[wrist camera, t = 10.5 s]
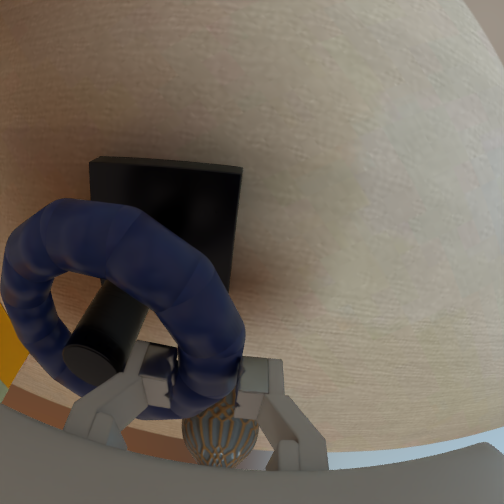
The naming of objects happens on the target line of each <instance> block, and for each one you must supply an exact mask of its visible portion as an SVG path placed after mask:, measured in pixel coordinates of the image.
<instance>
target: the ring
mask: <svg viewBox="0 0 504 504" xmlns="http://www.w3.org/2000/svg"><path fill="white" fill-rule="evenodd" d="M68 271H71V272H75V273H79V274H84V275H88V276H93V277H97V278H102V279H106V280H109V281H110V282H112V283H113V284H114V285H116V286H117V287H119V288H120V289H122V290H123V291H124V292H126V293H127V294H129V295H130V296H132V297H133V298H135V299H136V300H138V301H139V302H141V303H142V304H144V305H145V306H147V307H148V308H150V309H151V310H153V311H154V312H155V313H156V315H157V316H158V318H159V319H160V320H161V322H162V323H163V325H164V326H165V328H166V329H167V330H168V332H169V333H170V335H171V336H172V337H173V339H174V340H175V341H176V343H177V344H178V376H177V381H176V385H175V386H174V387H173V394H174V395H173V399H172V403H171V407H170V408H163V407H157V406H152V405H148V407H147V408H146V409H145V410H143V411H142V412H141V413H140V414H139V415H138V416H137V417H136V418H137V419H141V420H167V419H185V418H191V417H194V416H196V415H198V414H199V413H201V412H202V411H204V410H206V409H207V408H209V407H210V406H212V405H213V404H215V403H216V402H218V401H219V400H221V399H222V398H224V397H225V396H227V395H228V394H229V393H230V392H231V391H232V390H233V389H234V387H235V385H236V380H237V373H238V369H239V361H240V356H242V354H243V349H244V343H245V336H246V332H245V326H244V323H243V320H242V318H241V316H240V314H239V312H238V311H237V309H236V307H235V305H234V303H233V301H232V300H231V298H230V296H229V294H228V292H227V290H226V288H225V287H224V285H223V283H222V281H221V279H220V277H219V275H218V273H217V272H216V270H215V268H214V266H213V264H212V263H211V262H210V260H209V259H208V258H207V257H206V256H205V255H204V254H203V253H201V252H200V251H198V250H197V249H196V248H194V247H193V246H191V245H190V244H188V243H187V242H186V241H184V240H183V239H181V238H180V237H179V236H177V235H176V234H174V233H173V232H171V231H170V230H169V229H167V228H166V227H164V226H163V225H162V224H160V223H159V222H157V221H156V220H155V219H153V218H152V217H150V216H149V215H148V214H146V213H145V212H143V211H142V210H140V209H138V208H136V207H132V206H128V205H121V204H113V203H105V202H97V201H89V200H80V199H72V198H64V199H58V200H56V201H53V202H52V203H50V204H48V205H47V206H45V207H44V208H43V209H41V210H40V211H38V212H37V213H36V214H34V215H33V216H31V217H30V218H29V219H27V220H26V221H25V222H23V223H22V224H21V225H19V226H18V227H17V228H16V229H15V230H14V231H13V232H12V233H11V235H10V236H9V238H8V240H7V243H6V247H5V253H4V259H3V266H2V274H1V283H0V291H1V296H2V299H3V302H4V305H5V307H6V310H7V312H8V315H9V318H10V320H11V323H12V325H13V327H14V330H15V332H16V334H17V337H18V338H19V340H20V342H21V343H22V344H23V345H24V347H25V348H26V349H27V350H28V351H29V353H30V354H31V355H32V356H33V357H34V358H35V360H36V361H37V362H38V363H39V364H40V365H41V366H42V367H43V369H44V370H45V371H46V372H47V373H48V374H49V375H50V376H51V377H52V378H53V379H54V380H56V381H57V382H59V383H60V384H62V385H63V386H65V387H66V388H68V389H69V390H71V391H72V392H74V393H75V394H77V395H78V396H80V397H83V396H85V395H86V394H88V393H89V392H91V391H92V390H94V389H95V388H97V386H94V385H91V384H89V383H87V382H85V381H83V380H81V379H80V378H78V377H77V376H76V375H75V374H73V373H72V372H71V371H70V369H69V368H68V367H67V366H66V364H65V362H64V360H63V356H62V352H63V349H64V347H65V345H66V343H67V342H68V340H69V338H70V336H71V335H72V334H71V332H70V331H69V330H68V328H67V327H66V326H65V325H64V323H63V322H62V321H61V319H60V318H59V317H58V315H57V312H56V309H55V305H54V302H53V298H52V294H51V291H50V290H51V287H52V283H53V280H54V278H55V277H57V276H59V275H61V274H63V273H66V272H68Z"/></svg>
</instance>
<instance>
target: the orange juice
mask: <svg viewBox="0 0 504 504" xmlns="http://www.w3.org/2000/svg"><path fill="white" fill-rule="evenodd" d="M28 355H29V351H28V350H27V349H26V348H25V347H24V345H23V344H22V343H21V342H20V340H19V338H18V337H17V334H16V332H15V330H14V327H13V325H12V323H11V320H10V318H9V316H8V315H7V313H6V312H5V310H4V308H3V307H2V305H1V303H0V403H1V402H2V401H3V398H4V397H5V395H6V393H7V391H8V390H9V389H8V388H9V387H10V385H11V383H12V381H13V380H14V378H15V376H16V375H17V373H18V371H19V369H20V368H21V366H22V364H23V363H24V361H25V360H26V358H27V356H28Z"/></svg>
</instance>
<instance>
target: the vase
mask: <svg viewBox="0 0 504 504" xmlns="http://www.w3.org/2000/svg"><path fill="white" fill-rule="evenodd" d="M235 391H236V386H235V387H234V389H233V390H232V391H231V392H230V393H229V394H228V395H227V396H225V397H224V398H222V399H221V400H219V401H218V402H216V403H215V404H213V405H212V406H210V407H209V408H207V409H206V410H204V411H202V412H201V413H199V414H198V415H196V416H194V417H191V418H185V419H182V434H183V439H184V442H185V445H186V447H187V448H188V450H189V452H190V453H191V454H192V456H193V458H194V459H195V460H196V462H197V463H198V465H205V466H213V467H222V468H232V469H235V468H236V466H237V465H238V464H240V463H241V462H242V461H243V460H244V459H245V458H246V457H247V456H248V455H249V454H250V452H251V451H252V449H253V447H254V445H255V443H256V440H257V437H258V432H259V425H258V423H257V420H251V419H242V418H234V405H235V397H236V393H235Z"/></svg>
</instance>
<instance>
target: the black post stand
mask: <svg viewBox="0 0 504 504" xmlns="http://www.w3.org/2000/svg"><path fill="white" fill-rule="evenodd" d="M242 174H243V168H242V167H236V166H228V165H219V164H209V163H199V162H188V161H176V160H163V159H149V158H131V157H109V156H100V157H98V158H96V159H94V160H92V161H90V162H89V175H90V193H91V201H97V202H105V203H113V204H121V205H128V206H132V207H136V208H138V209H140V210H142V211H143V212H145V213H146V214H148V215H149V216H150V217H152V218H153V219H155V220H156V221H157V222H159V223H160V224H162V225H163V226H164V227H166V228H167V229H169V230H170V231H171V232H173V233H174V234H176V235H177V236H179V237H180V238H181V239H183V240H184V241H186V242H187V243H188V244H190V245H191V246H193V247H194V248H196V249H197V250H198V251H200V252H201V253H203V254H204V255H205V256H206V257H207V258H208V259H209V260H210V262H211V263H212V264H213V266H214V268H215V270H216V272H217V273H218V275H219V277H220V279H221V281H222V283H223V285H224V287H225V288H226V290H227V292H228V294H229V285H230V276H231V267H232V258H233V249H234V240H235V232H236V223H237V215H238V207H239V199H240V190H241V182H242ZM100 280H101V286H102V287H101V288H100V290H99V291H98V293H97V294H96V296H95V297H94V299H93V300H92V302H91V304H90V305H89V307H88V308H87V310H86V312H85V313H84V315H83V316H82V318H81V320H80V321H79V323H78V325H77V326H76V328H75V330H74V331H73V333H72V335H71V336H70V338H69V340H68V342H67V343H66V345H65V347H64V349H63V352H62V356H63V360H64V362H65V364H66V366H67V367H68V368H69V369H70V371H71V372H72V373H73V374H75V375H76V376H77V377H78V378H80V379H81V380H83V381H85V382H87V383H89V384H91V385H94V386H97V387H98V386H100V385H101V384H103V383H104V382H106V381H107V380H108V379H110V378H111V377H113V376H114V375H116V374H117V373H119V372H124V369H125V367H126V364H127V362H128V359H129V357H130V354H131V352H132V349H133V347H134V344H135V342H136V339H137V337H138V334H139V332H140V329H141V327H142V324H143V322H144V320H145V317H146V315H147V313H148V310H149V308H148V307H147V306H145V305H144V304H142V303H141V302H139V301H138V300H136V299H135V298H133V297H132V296H130V295H129V294H127V293H126V292H124V291H123V290H122V289H120V288H119V287H117V286H116V285H114V284H113V283H112V282H110V281H109V280H106V279H102V278H100Z"/></svg>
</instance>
